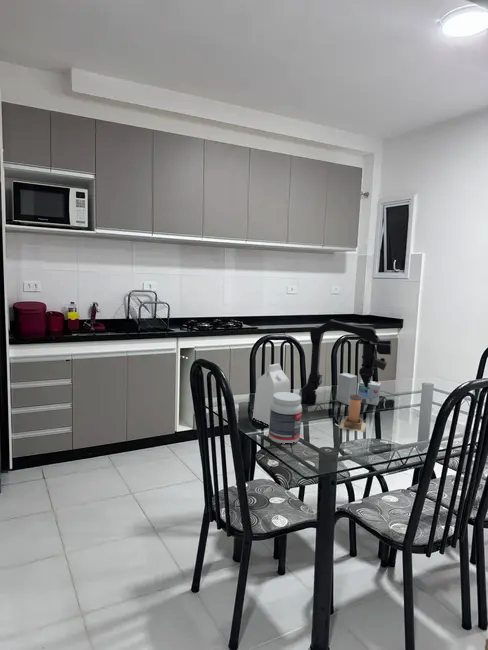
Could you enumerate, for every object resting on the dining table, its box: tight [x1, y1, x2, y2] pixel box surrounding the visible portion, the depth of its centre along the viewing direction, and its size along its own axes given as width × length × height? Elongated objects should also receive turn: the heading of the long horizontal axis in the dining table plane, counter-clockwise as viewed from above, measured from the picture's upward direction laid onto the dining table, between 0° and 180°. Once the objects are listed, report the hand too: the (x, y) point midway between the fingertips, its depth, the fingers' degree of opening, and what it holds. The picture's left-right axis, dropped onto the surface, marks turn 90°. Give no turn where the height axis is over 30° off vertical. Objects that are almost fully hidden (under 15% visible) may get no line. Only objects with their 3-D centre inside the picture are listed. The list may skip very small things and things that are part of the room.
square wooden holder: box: [338, 415, 367, 433], centre depth 203 cm, size 11×11×4 cm
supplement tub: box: [268, 391, 303, 445], centre depth 186 cm, size 13×13×18 cm
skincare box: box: [336, 372, 358, 406], centre depth 238 cm, size 8×6×15 cm
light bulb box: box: [357, 379, 382, 406], centre depth 241 cm, size 11×7×11 cm, turn 68°
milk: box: [252, 363, 291, 425], centre depth 206 cm, size 12×12×26 cm
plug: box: [348, 394, 362, 423], centre depth 202 cm, size 5×5×14 cm
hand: (367, 384), depth 222 cm, fingers open, 9 cm apart
